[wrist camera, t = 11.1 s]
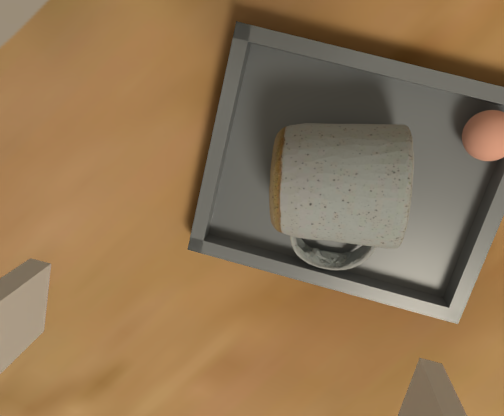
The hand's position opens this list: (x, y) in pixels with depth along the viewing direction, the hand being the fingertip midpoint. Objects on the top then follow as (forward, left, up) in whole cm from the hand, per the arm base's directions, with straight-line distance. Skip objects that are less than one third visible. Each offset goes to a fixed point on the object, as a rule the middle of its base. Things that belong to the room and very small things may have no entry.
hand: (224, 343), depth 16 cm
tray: (+5, +3, -20) cm, 20 cm away
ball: (+12, +8, -19) cm, 24 cm away
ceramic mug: (+4, +2, -19) cm, 20 cm away
